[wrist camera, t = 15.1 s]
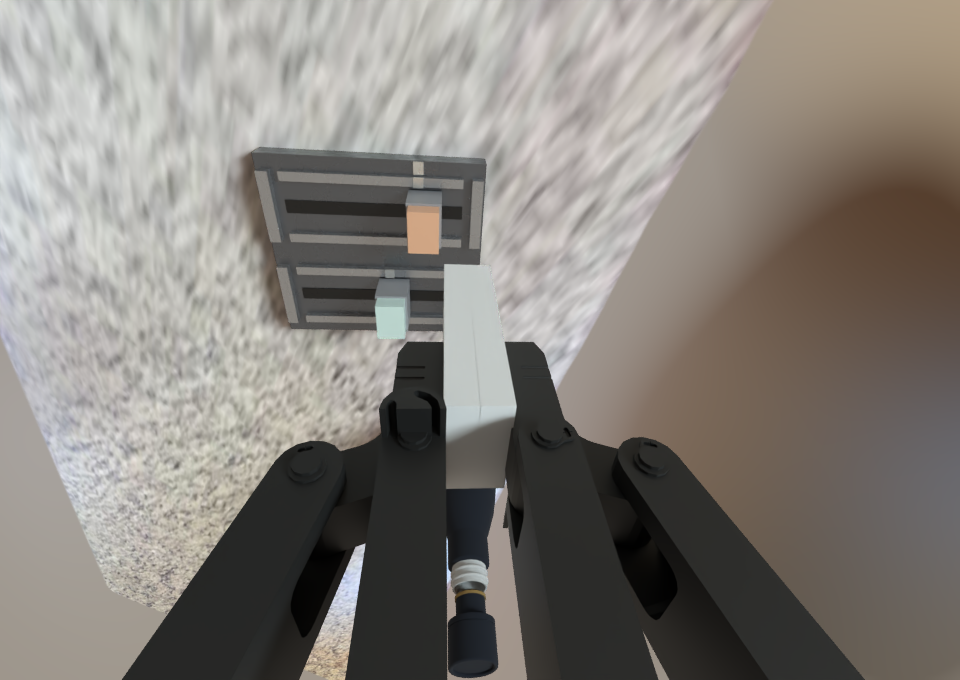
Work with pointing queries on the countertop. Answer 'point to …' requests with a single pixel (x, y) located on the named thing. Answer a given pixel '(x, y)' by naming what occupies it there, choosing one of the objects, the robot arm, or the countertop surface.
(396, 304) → the knob
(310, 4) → the countertop surface
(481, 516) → the black water bottle
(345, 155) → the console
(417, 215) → the knob
